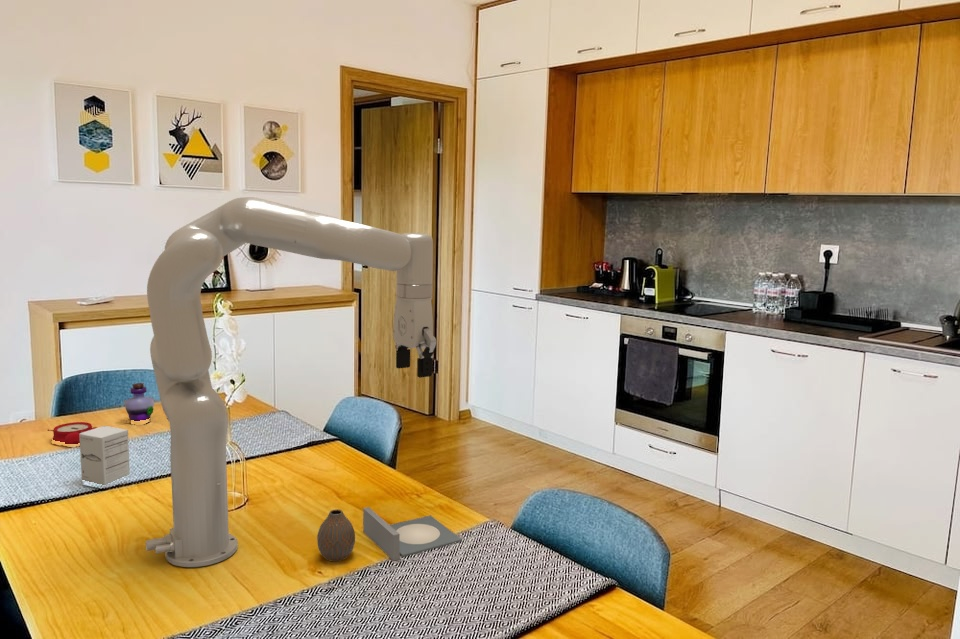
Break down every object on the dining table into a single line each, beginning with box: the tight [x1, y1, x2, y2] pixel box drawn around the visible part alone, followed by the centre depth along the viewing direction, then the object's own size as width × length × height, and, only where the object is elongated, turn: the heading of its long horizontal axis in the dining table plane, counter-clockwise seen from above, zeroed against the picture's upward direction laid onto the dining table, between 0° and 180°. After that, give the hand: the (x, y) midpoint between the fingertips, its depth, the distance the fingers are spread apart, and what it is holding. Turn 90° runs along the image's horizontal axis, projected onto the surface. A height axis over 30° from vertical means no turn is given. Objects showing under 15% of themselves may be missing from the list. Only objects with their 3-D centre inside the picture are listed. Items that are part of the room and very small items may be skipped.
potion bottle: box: [123, 382, 155, 421], centre depth 210 cm, size 9×9×12 cm
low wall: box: [362, 506, 400, 562], centre depth 136 cm, size 1×14×5 cm, turn 33°
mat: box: [389, 515, 463, 558], centre depth 140 cm, size 13×13×1 cm
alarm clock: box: [47, 421, 98, 444], centre depth 192 cm, size 10×6×15 cm
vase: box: [316, 509, 356, 562], centre depth 131 cm, size 7×7×9 cm
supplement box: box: [79, 425, 131, 485], centre depth 163 cm, size 7×7×13 cm
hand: (413, 372), depth 150 cm, fingers open, 9 cm apart
